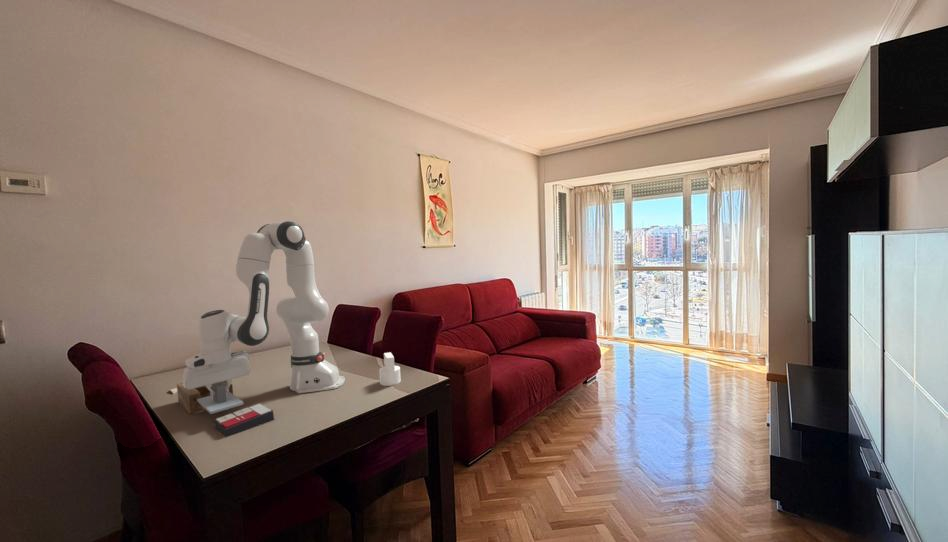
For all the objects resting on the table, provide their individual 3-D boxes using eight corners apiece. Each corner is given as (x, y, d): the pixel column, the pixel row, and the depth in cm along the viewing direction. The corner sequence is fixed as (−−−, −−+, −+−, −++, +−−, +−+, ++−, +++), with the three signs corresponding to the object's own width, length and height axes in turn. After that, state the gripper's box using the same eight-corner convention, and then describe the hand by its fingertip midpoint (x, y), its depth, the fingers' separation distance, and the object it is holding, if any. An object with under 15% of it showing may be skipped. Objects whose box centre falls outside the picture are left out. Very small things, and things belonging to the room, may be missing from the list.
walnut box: (218, 391, 165) (217, 374, 164) (233, 403, 152) (232, 384, 151) (178, 402, 155) (176, 384, 154) (190, 415, 141) (188, 395, 141)
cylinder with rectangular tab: (402, 383, 166) (401, 356, 165) (381, 387, 163) (379, 359, 162) (398, 377, 174) (397, 351, 174) (378, 380, 171) (376, 354, 170)
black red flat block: (213, 418, 130) (260, 401, 142) (215, 430, 131) (261, 412, 142) (224, 427, 123) (273, 408, 135) (226, 440, 124) (274, 420, 135)
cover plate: (228, 393, 149) (226, 375, 148) (243, 404, 137) (242, 385, 137) (197, 401, 141) (195, 383, 141) (210, 414, 130) (209, 394, 129)
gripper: (245, 348, 147) (248, 383, 148) (179, 361, 132) (183, 400, 133) (251, 350, 143) (254, 387, 144) (184, 364, 128) (187, 405, 129)
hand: (219, 393), depth 139 cm, fingers closed on cover plate, 2 cm apart
